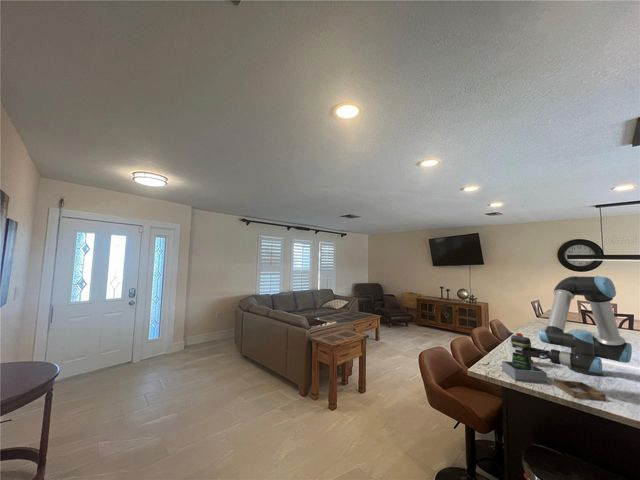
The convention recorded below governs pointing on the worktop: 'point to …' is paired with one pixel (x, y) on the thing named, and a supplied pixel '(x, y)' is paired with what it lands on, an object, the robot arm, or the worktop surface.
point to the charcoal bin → (524, 373)
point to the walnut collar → (590, 393)
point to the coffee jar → (519, 359)
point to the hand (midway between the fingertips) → (511, 348)
